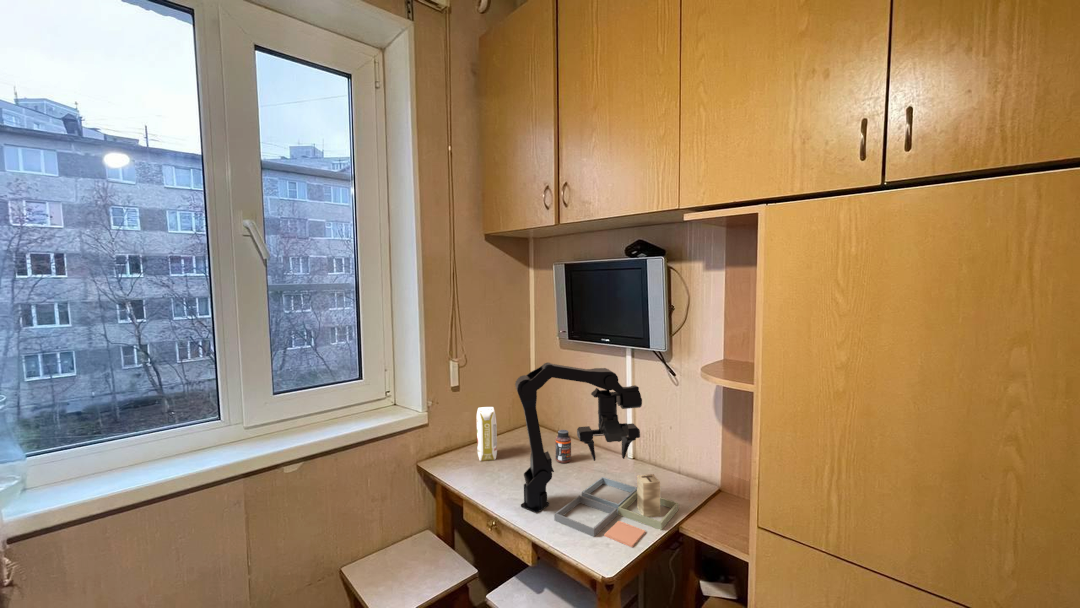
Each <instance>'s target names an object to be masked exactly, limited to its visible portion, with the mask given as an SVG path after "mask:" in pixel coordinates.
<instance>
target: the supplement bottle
mask: <svg viewBox="0 0 1080 608" xmlns="http://www.w3.org/2000/svg"><path fill="white" fill-rule="evenodd" d="M571 460H572V438H571V436H570V433H569V430H567V429H559V430H558V431H557V435H556V437H555V461H556V462H558V463H560V464H568V463H569V462H571Z"/></svg>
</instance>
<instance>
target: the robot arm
mask: <svg viewBox="0 0 1080 608" xmlns="http://www.w3.org/2000/svg"><path fill="white" fill-rule="evenodd" d="M551 379H561V380H566V381H572V382H579V383H585V384H589V385H592V386H595V389H594V390H593V391H592V392H591V393H590V395H591V396H592V397H593V398H597V407H598V408H597V414H598V423H597V425H598V429H592V428H591V427H590V426H588V425H587V426H578V427H577V429H576V435H577V439H579V442H582V443H584V444H585V445H587V446H588V449H589V451H590V454H591V457H592V459H593V461H594V462H595V461H596V452H595V441H594V440H593V439H594V437H600V436H602V437H604V438H605V441H606V442H607V443H613V442H617V443H618V442H619V443H620V442H621V458H622V459H623V460H624V459H625V458H626V456H627V452H628V450H629V447H630V444H631V443H633V442H634V441H636V440H637V439H639V438H641V430H640V428H639V427H637V425H636V424H635V423H626V422H625V423H620V421H619V416H618V407H619V406H620V408H621V409H622V410H629V409H639V408H641V407H642V405H643V398H642V395H641V392H640V389H639V388H640V387H639V386H637V385H636V384H635V385H630V386H622V385H621V383H619V376H618V375H617V374H616V372H613V371H612V370H610V369H609V368H606V367H601V368H599V367H596V368H590V369H589V368H587V369H586V368H582V367H575V366H574V367H573V366H568V365H561V364H556V363H552V362H544V363H543V364H542V365H541V366H540V367H537V368H535V369H534V370H531V371H530V372H528V373H527V374H526V375H525V374H524V375H520V376H519V377H518V378H517V379H516V381H515V384H514V385H515V386H514V387H515V390H516V392H517V394H518V398H519V400H520V402H521V405H522V409H523V414H524V418H525V424H526V430H527V436H528V441H529V446H530V458H529V461H530V462H529V464H530V465H529V468H528V469H526V471H525V472H524V473H523V477H524V482H525V483H524V484H523V502H522V503H521V504H520V507H521V508H524V509H526V510H527V511H528V510H529V511H531V512H533V513H536V514H537V513H539V512H541V511H542V510H543V509H545V508H546V507H548V506H549V505H550V501H548V492H547V485H548V483H549V482H551V480H552V478H553V473H554V472H555V471H554V468H553V463H552V462H553V461H552V457H551V455H550V453H549V451H548V450H547V451H544V445H543V439H542V438H543V437H542V434H541V428H540V424H539V416H538V412H537V400H538V399H537V397H538V394H537V393H538V390H540V389H541V388H542V387H543V386H544V385H546V383H547V382H549V381H550V380H551ZM599 388H600V389H601V390H600V389H599Z"/></svg>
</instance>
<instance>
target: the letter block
mask: <svg viewBox="0 0 1080 608" xmlns="http://www.w3.org/2000/svg"><path fill="white" fill-rule="evenodd" d="M636 480H637V481H636V482H637V483H636V485H637V486H636V487H637V499H636V502H637V503H636V505H637V510H638V512H639V514H640V515H643V516H646V517H649V518H653V517H654V518H655V517H661V505H660V497H661V481H660V480H659V479H658V478H657V477H656V476H655V474H654V473H653V474H651V473H650V474H639V475H636Z"/></svg>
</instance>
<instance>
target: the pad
mask: <svg viewBox="0 0 1080 608" xmlns="http://www.w3.org/2000/svg"><path fill="white" fill-rule="evenodd" d="M644 533H645V534H646V530H645V529H643V528H640V527H637V526H635V525H631V524H628V523H626V522H623V521H621V520H618V521H617V522H615V523H614V525H612V526H611V527H610V528H609V529H608V530H607V531H606V532H605V533H604V537H606V538H608V539H611V540H613V541H615V542H618V543H620V544H624V545H626V546H628V547H631V548H633V547H635V545H636V544H637V543H638V541H639V540H640V539H642V537H643V536H644V535H645V534H644ZM643 534H644V535H643ZM642 535H643V536H642ZM641 536H642V537H641ZM635 543H636V544H635ZM634 544H635V545H634Z"/></svg>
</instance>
